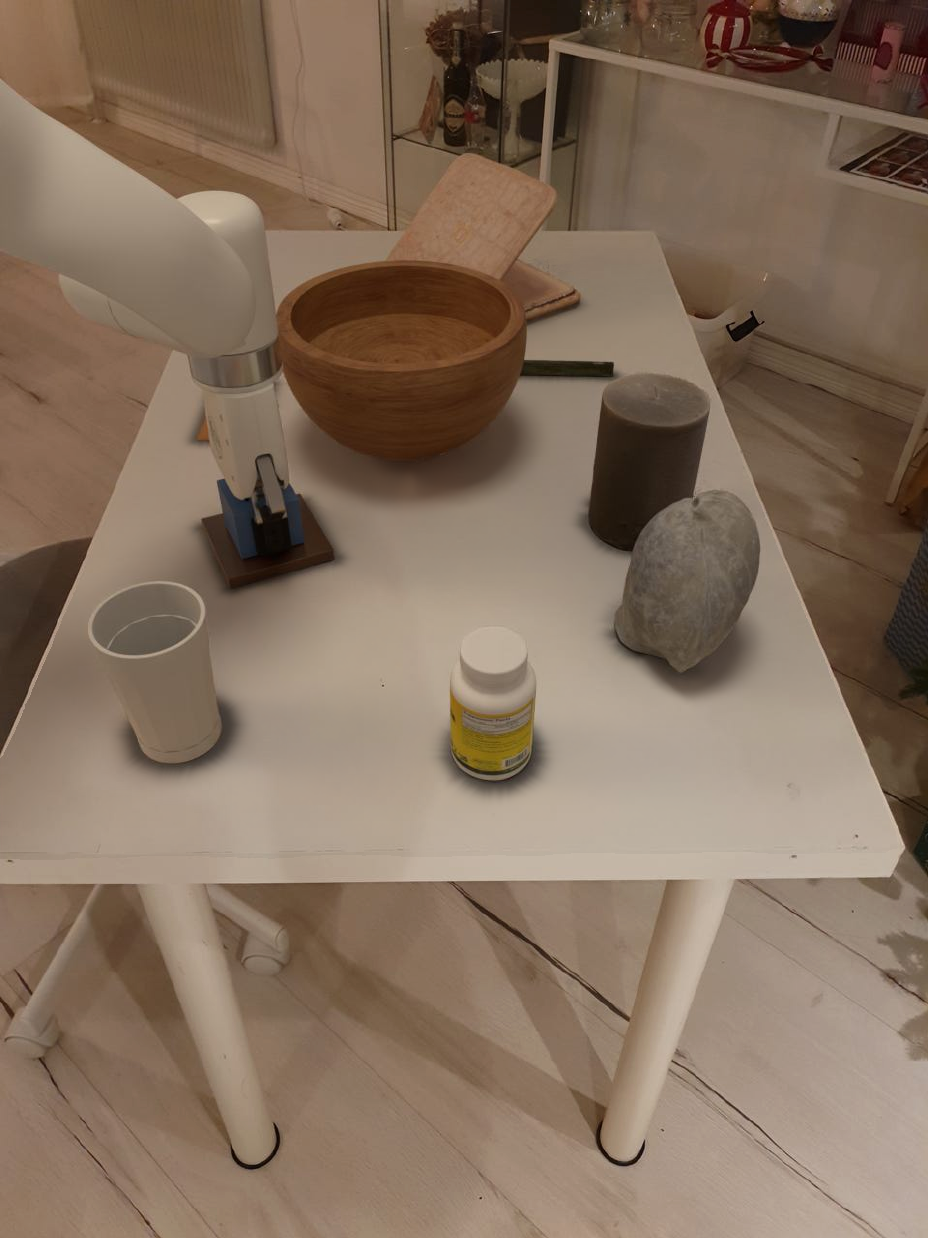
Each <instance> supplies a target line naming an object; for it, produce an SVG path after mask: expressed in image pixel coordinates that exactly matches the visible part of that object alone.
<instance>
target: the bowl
mask: <svg viewBox="0 0 928 1238" xmlns="http://www.w3.org/2000/svg"><path fill="white" fill-rule="evenodd" d="M276 317H277V324H278V332H279V339H280V347H281V355H282V362H283V372H282V374H283V376H284V378H285V380H286V383H287V385H288V388H289V389H290V391H291V393H292V395H293V396H294V398H295V400H296V402H297V404H298V405H299V406H300V408H301V410H303V412H304V413H305V414H306V415H307V416H308V418H309V419H310V420H311V421H312V422H313V423H314V424H315V425H316V426H317V427H318V428H319V429H320V430H321V431H323V432H324V433H325V434H326V435H328V436H329V437H330V438H332V439H333V440H335V441H336V442H338V443H339V444H342V446H345V447H346V448H348V449H350V450H353V451H355V452H357V453H360V454H362V455H366V456H369V457H373V458H377V459H382V460H388V461H398V462H399V461H401V462H403V461H404V462H405V461H408V462H409V461H418V460H419V461H420V460H424V459H426V460H427V459H431V458H434V457H438V456H440V455H444V454H448V453H449V452H451V451H454V450H456V449H458V448H460V447H462V446H463V445H465V444H466V443H469V442H470V441H472V440H473V439H474V438H476V437H477V436H479V435H480V434H481V433H482V432H484V430H485V429H487V428H488V427H489V426H490V425H491V423H492V422H494V421H495V419H496V418H497V417H498V416H499V415H500V413H501V412H502V411H503V409H504V407H505V406H506V405H507V403H508V402H509V400H510V398H511V397H512V394H513V392H514V390H515V388H516V386H517V384H518V381H519V378H520V376H521V374H520V373H521V370H522V366H523V361H524V360H525V356H526V350H527V337H528V335H527V334H528V333H527V332H528V330H527V329H528V328H527V327H528V326H527V320H526V314H525V308H524V305H523V302H522V300H521V299H520V297H519V296H518V295H517V293H516V292H515V291H514V290H513V289H512V288H510V287H509V286H508V285H506V284H505V283H503V282H502V281H500V280H498V279H496V278H494V277H492V276H490V275H488V274H485V273H483V272H480V271H477V270H474V269H470V268H466V267H463V266H458V265H453V264H447V263H440V262H431V261H416V260H396V261H385V260H383V261H372V262H371V261H370V262H364V263H358V264H354V265H349V266H344V267H340V268H337V269H334V270H331V271H327V272H323V273H322V274H319V275H317V276H314V277H312V278H310V279H308V280H306V281H305V282H303V283H301V284H299V285H297V286H296V287H295V288H294V289H292V290H291V291H290V292H289V293H287V294H286V296H285V297H283V299H282V301H281V302H280V303H279V305H278V308H277V309H276Z"/></svg>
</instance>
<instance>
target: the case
mask: <svg viewBox="0 0 928 1238" xmlns="http://www.w3.org/2000/svg"><path fill="white" fill-rule="evenodd" d="M452 161H453V162H451V164H450V165H449V166H448V168H447V170H446V171H445V172H444V174H443V175H442V177H441V179H440V180H439V181H438V183H437V184H436V186H435V187H434V188H433V190H432V192H431V193H430V194H429V195H428V197H427V199H426V200H425V202H423V204H422V206H421V208H419V211H418V212H417V213H416V215H415V216H414V218H413V219H412V220H411V222H410V223H409V225H408V227H406V229H405V231H404V232H403V234H402V235H401V236H400V238H399V240H398V241H397V242H396V244H395V245H394V247H393V248H392V249H391V251H390V253H389V254H388V256H386V258H385V260H384V261H396V260H416V261H431V262H440V263H447V264H453V265H458V266H463V267H466V268H470V269H474V270H477V271H480V272H483V273H485V274H488V275H490V276H492V277H494V278H496V279H498V280H500V281H502V282H503V283H505V284H506V285H508V286H509V287H510V288H512V289H513V290H514V291H515V292H516V293H517V295H518V296H519V297H520V299H521V300H522V302H523V305H524V308H525V314H526V321H528V320H531V319H535V318H538V317H540V316H543V315H546V314H548V313H549V314H550V313H551V312H555V311H558V310H561V309H563V308H566V307H569V306H572V305H574V304H576V303H578V302H579V301H580V299H581V293H580V292H579V290H578V289H576V288H575V287H574V286H573V285H571V284H570V283H568V282H565V281H563V280H561V279H558V278H556V277H554V276H552V275H550V273H547V272H546V271H543V270H542V269H540V268H538V267H535V266H533V265H531V264H529V263H527V262H524V261H522V260H520V259H519V258H520V256H521V254H522V253H523V252H524V250H525V249H526V247H527V246H528V245H529V244H530V242H531V241H532V239H533V238H534V237H535V236H536V234H537V233H538V232H539V230H540V229H541V227H542V226H543V225H544V224H545V222H546V221H547V219H548V218H549V216H551V214H552V213H553V211H554V210H555V207H556V205H557V203H558V192H557V191H556V189H555V188H554V187H553V186H552V185H550V184H548V183H546V182H544V181H541V180H540V179H539V180H538V179H536V178H535V177H532V176H529V175H528V174H526V173H524V172H523V171H520V170H518V169H516V168H513V167H511V166H509V165H506V164H503V163H500V162H498V161H494V160H491V159H489V158H486V157H485V156H482V155H480V154H478V153H473V152H465V153H462V154H460V155H459V156H458V157H456V158H455V159H454V160H452Z"/></svg>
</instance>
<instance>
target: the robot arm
mask: <svg viewBox="0 0 928 1238" xmlns="http://www.w3.org/2000/svg"><path fill="white" fill-rule="evenodd" d="M0 252H1V253H4V254H6V255H8V256H11V257H13V258H16V259H18V260H22V261H24V262H27V263H30V264H33V265H36V266H38V267H41V268H44V269H47V270H50V271H51V272H54V273H56V274H57V275H58V282H59V287H60V290H61V293H62V294H63V296H64V298H65V300H66V301H67V303H68V304H69V305H70V306H71V308H73V310H74V311H75V312H77V313H78V314H79V315H80V316H82V317H83V318H84V319H86V320H87V321H90V322H92V323H93V324H96V325H99V326H101V327H103V328H106V329H109V330H112V331H115V332H117V333H121V334H124V335H126V336H130V337H132V338H135V339H139V340H143V341H146V342H149V343H151V344H155V345H158V346H161V347H163V348H167V349H170V350H173V351H176V352H178V353H180V354H184V355H186V356H187V360H188V366H189V370H190V376H191V379H192V382H193V383H194V384H195V385H196V386H197V387H199V388H201V393H202V402H203V405H204V406H203V407H204V415H205V416H206V421H207V427H208V434H209V447H210V450H211V453H212V456H213V458H214V460H215V463H216V464H217V467H218V469H219V471H220V473H221V474H222V476H223V479H225V480H226V482H227V484H228V486H229V488H230V490H231V492H232V493H233V495H234V496H235V497H236V498H238V499H240V500H244V498H249V499H250V503H251V507H252V511H253V515H254V519H251V523H252V529H253V535H254V541H255V546H256V552H257V554H258V556H260V557H264V556H267V555H271V554H275V553H278V552H282V551H286V550H289V549H290V548H291V547H292V544H291V537H290V530H289V523H288V516H287V512H286V508H285V503H284V499H283V495H282V490H281V487H282V488H283V489H286V488H287V486H288V484H289V483H290V471H289V461H288V455H287V449H286V442H285V436H284V429H283V423H282V419H281V418H282V417H281V413H280V404H279V403H278V398H277V397H278V396H277V392H276V387H275V382H276V381H277V380H278V379H279V378H280V377H281V376H282V374H283V362H282V355H281V347H280V339H279V332H278V324H277V317H276V314H277V309H276V302H275V296H274V295H275V293H274V287H273V279H272V272H271V265H270V257H269V249H268V240H267V233H266V225H265V219H264V216H263V213H262V211H261V209H260V207H259V205H258V204H256V202H255V201H254V199H251V198H250V197H248V196H246V195H244V194H241V193H238V192H234V191H227V190H204V191H203V190H202V191H197V192H191V193H189V194H186V195H183V196H180V197H178V198H176V197H174V196H173V195H172V194H170V193H169V192H167V191H166V190H165V189H163V188H162V187H161V186H160V185H157V184H156V183H155V182H152V181H151V180H150V179H148V178H147V177H146V176H144V175H142V174H140V173H139V172H137V171H136V170H134V169H133V168H131V167H129V166H128V165H126V164H125V163H124V162H121V161H120V160H118V159H117V158H115V157H114V156H113V155H110V154H109V153H108V152H106V151H104V150H103V149H101V148H99V146H96V145H95V144H94V143H92V142H91V141H90V140H88V139H87V138H85V136H83V135H81V134H79V133H78V132H76V130H73V129H72V128H70V127H68V126H67V125H66V124H64V123H62V122H60V121H58V120H57V119H55V118H54V117H52V116H50V115H48V114H46V113H45V112H44V111H42V110H40V109H39V108H38V107H36V106H35V105H33V104H32V103H30V101H28V100H27V99H25V98H24V97H23V96H22V95H21V94H19V93H18V92H17V91H15V89H13V88H12V87H11V86H10V85H9V84H7V82H5V81H4V80H3V79H2V78H0ZM256 481H260V482H261V486H259V487H255V484H256ZM261 495H265V499H266V505H264V506H262V507H261V509H260V506H259V502H258V498H257V496H261Z"/></svg>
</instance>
